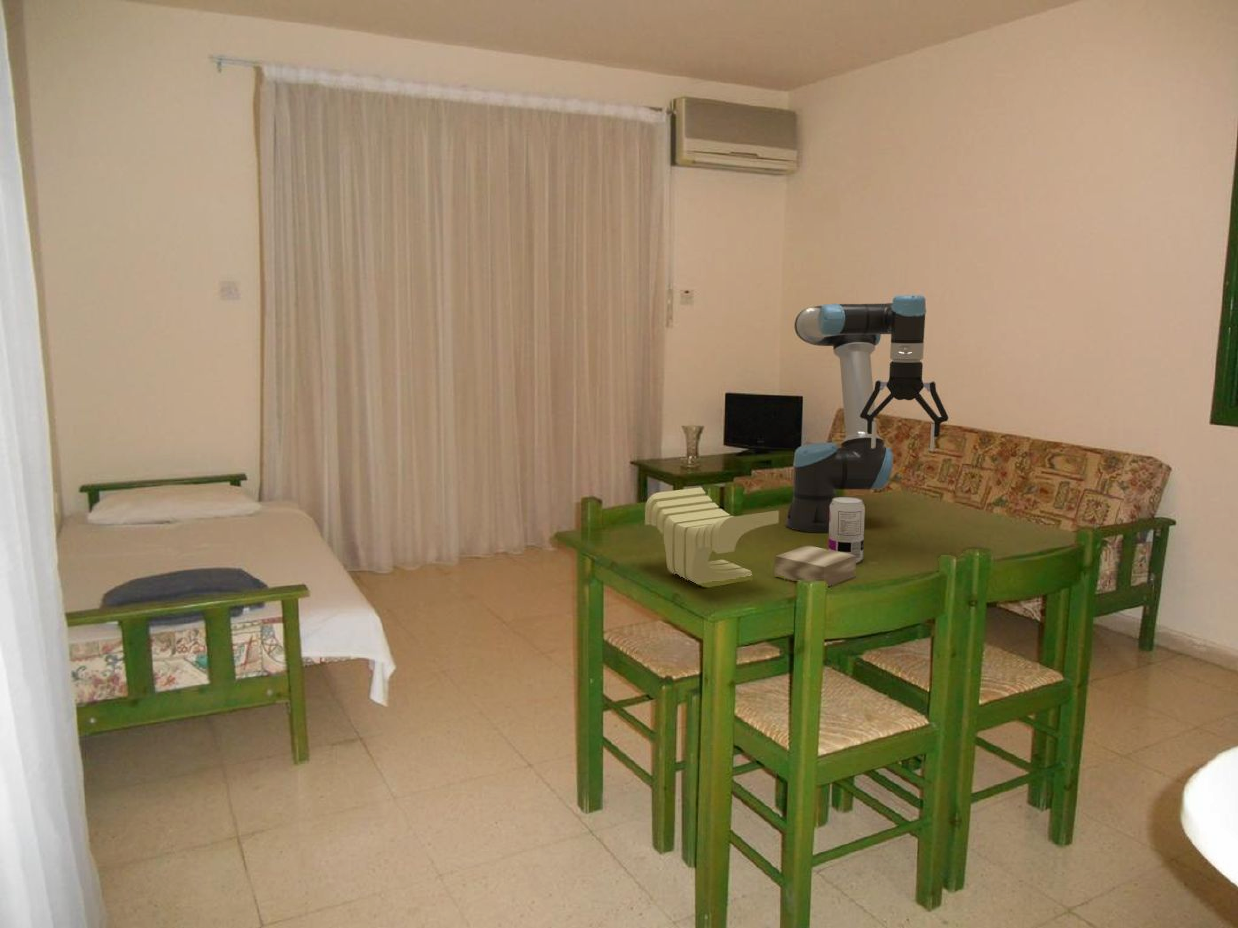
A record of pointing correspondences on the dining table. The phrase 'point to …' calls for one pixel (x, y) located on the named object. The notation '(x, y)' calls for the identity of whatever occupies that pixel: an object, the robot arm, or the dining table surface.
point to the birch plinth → (816, 565)
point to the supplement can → (847, 526)
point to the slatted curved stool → (700, 533)
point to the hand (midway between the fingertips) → (902, 449)
